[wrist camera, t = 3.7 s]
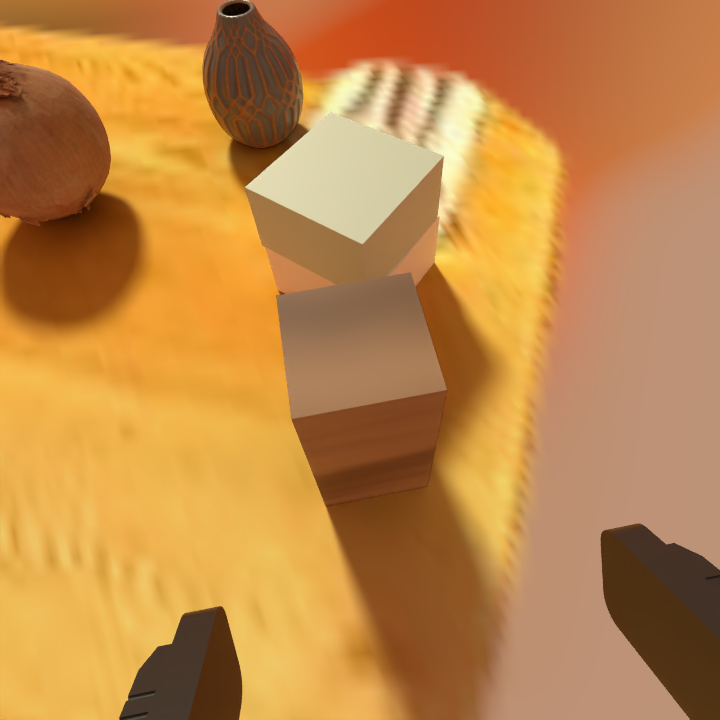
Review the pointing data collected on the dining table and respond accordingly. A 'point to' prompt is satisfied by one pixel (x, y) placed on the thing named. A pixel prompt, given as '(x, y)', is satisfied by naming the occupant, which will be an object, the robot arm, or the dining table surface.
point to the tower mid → (346, 200)
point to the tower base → (302, 279)
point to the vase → (251, 77)
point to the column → (362, 386)
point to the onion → (48, 146)
